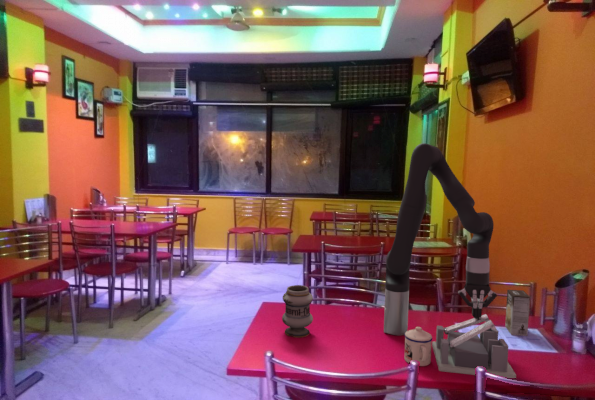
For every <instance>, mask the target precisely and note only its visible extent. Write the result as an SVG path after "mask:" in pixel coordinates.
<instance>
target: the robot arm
mask: <svg viewBox="0 0 595 400" xmlns="http://www.w3.org/2000/svg"><path fill="white" fill-rule="evenodd" d="M429 172H430V173H431V174H432V175H433V176H434V177H435V178H436V179H437V181H438V182H439V184H440V187H441V188H442V192H443V194H444V196H445V197H446V199H447V200H448V202H449V203H450V205H451V206H452V207H453V208H454V210H455V211H456V214H457V216H458V218H459V221H460V223H461V225H462V227H463V228H464V229H465V230H466V231H467V232H468V233H470V234H472V238H471V239H469V241H468V242H467V247H466V251H467V252H466V262H465V263H466V264H465V284H464V286H463V287H464V288H462V289H460V290H458V291H457V293H458V295H459V296H460V297H461V298H462V300H463V301H464V302H465V304H466V305H467V306H468V307H470V308H471V316H472V317H473V318H475V319H480V317H481V316H482V315H483V314H482V311H483V308H488V307H489V306H490V304H491V303H492V302H493V301H494V300H495V299H496V297H497V296H498V294H497V293H496V292H495V291H493V290H492V288H491V287H490V265H491V263H490V244H491V241H492V235H493V232H494V228H495V227H494V220H493V217H492V215H491V214H489V213H487V212H477V211H476V209H475V208H474V206H475V204H476V202H475V200H474V198H473V196H471V194H470V193H469V192H468V191H467V189H466V188H465V187H464V186H463V184H462V183H461V181H460V180H459V179H458V178H457V176H456V174H454V172H453V170H452V168H451V167H450V166H449V164H448V161H447V160H446V158H445V156H444V154H443V152H442V151H441V150H440V149H439V148H438V147H437V146H435V145H431V144H428V143H427V142H426V143H423V142H422V143H419V144H418V145H416V146H415V147H414V149H413V151H412V154H411V157H410V163H409V169H408V174H407V181H406V184H405V188H404V191H403V195H402V199H401V202H400V206H399V210H398V215H397V218H396V219H397V221H396V227H395V228H396V229H395V237H394V240H393V243H392V245H391V249H390V251H388V252H387V255H386V258H385V284H384V285H385V287H384V288H385V290H384V292H385V294H384V311H383V313H384V315H383V317H384V318H383V333H384V334H385V333H386V334H388V335H389V334H390V335H393V336H405V333H406V331H408V330H409V329H408V328H409V326H408V324H409V302H410V301H409V297H410V268H411V262H412V255H413V248H414V244H415V240H416V237H417V236H418V232H419V230H420V227H421V224H422V220H423V218H424V215H425V211H426V206H427V194H426V181H427V177H428V173H429ZM467 295H469V297H470V299H471V300H469V299H468V298H467ZM487 295H488V296H487Z"/></svg>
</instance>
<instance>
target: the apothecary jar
mask: <svg viewBox="0 0 595 400" xmlns="http://www.w3.org/2000/svg"><path fill="white" fill-rule="evenodd" d="M309 290H310V289H309V287H308V286H306V285H303V284H297V285H296V284H294V285H289V286H287V288H286V291H285V292H284V293H283V295H282V301H283V302H284V304H285V312H284V313H283V314H282V317H281V320H282V321H281V322H282V323H283V324H284V325H286V326H287V328H285V330H284V334H285V335H286V336H288V337H292V338H304V337H308V336H309V335H310V330H309V328H306V327H308V326H310V325H311V324H312V323H313V321H314V317H313V315H312V314H311V311H310V309H311V308H310V306H311V305H310V304H311V303H312V302H313V300H314V297H313V295H312V294H311V292H309Z"/></svg>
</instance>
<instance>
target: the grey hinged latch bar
mask: <svg viewBox="0 0 595 400" xmlns="http://www.w3.org/2000/svg"><path fill="white" fill-rule="evenodd" d="M489 320H490V319H489V317H488V315H487V314H486V313H485V314H482V316H481V317H480V319H475V318H474V317H473V318H470V319H467V320H464V321H462V322H458V323H456V324H452V325H450V326H447V327H446V326H443V329H444V334H445V335H448V334H449V333H451V332H458V331H459V330H462V329H465V328H469V327H471V326H475V325H478V324H481V323H485V322H487V321H489Z"/></svg>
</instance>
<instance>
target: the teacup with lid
mask: <svg viewBox="0 0 595 400" xmlns="http://www.w3.org/2000/svg"><path fill="white" fill-rule="evenodd" d="M432 340H433V336H432V334H431V333H429V332H427V331H425V330H423V328H422V327H420V326H416V327H415V328H413V329H407V331H406V333H405V335H404V361H405V362H406V363H407V364H409V362H410V361H411V360H417V361H419V362H420V366H419V367H426V366H429V365H430V364H431V362H432V361H431V359H432Z"/></svg>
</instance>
